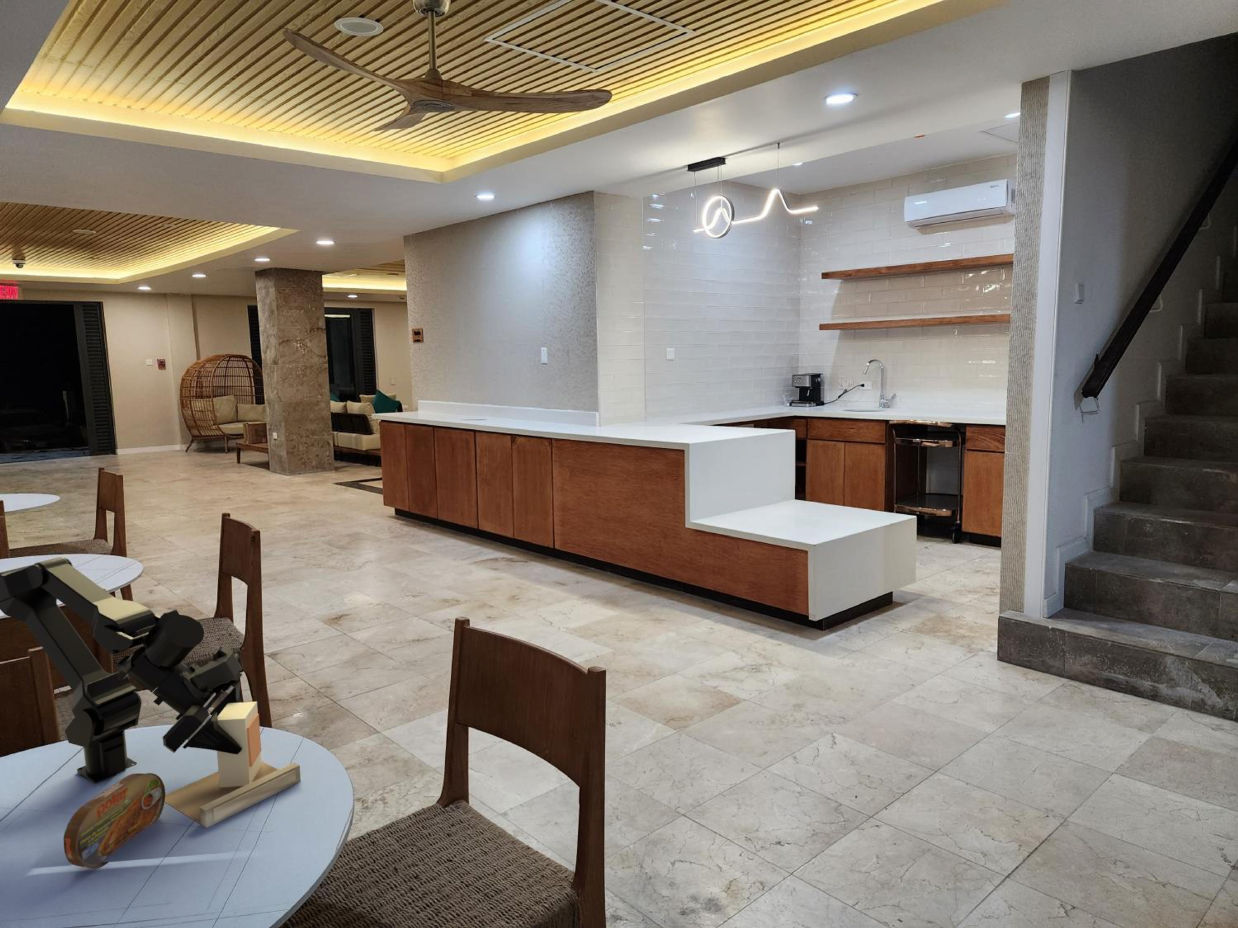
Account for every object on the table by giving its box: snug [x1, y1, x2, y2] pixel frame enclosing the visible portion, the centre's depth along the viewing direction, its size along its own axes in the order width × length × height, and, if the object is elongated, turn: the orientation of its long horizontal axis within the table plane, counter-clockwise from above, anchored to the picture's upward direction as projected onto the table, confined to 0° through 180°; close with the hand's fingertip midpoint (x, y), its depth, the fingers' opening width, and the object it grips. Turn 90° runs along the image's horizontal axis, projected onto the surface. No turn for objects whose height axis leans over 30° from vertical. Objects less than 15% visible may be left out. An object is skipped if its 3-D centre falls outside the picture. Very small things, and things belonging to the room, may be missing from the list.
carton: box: [216, 701, 262, 787], centre depth 126 cm, size 5×6×11 cm
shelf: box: [164, 760, 301, 829], centre depth 123 cm, size 14×15×3 cm
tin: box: [63, 772, 166, 869], centre depth 110 cm, size 15×3×8 cm, turn 168°
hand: (247, 739), depth 126 cm, fingers open, 7 cm apart
